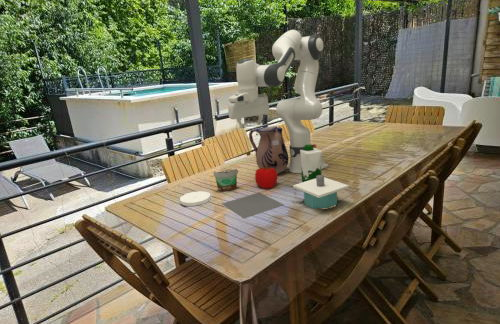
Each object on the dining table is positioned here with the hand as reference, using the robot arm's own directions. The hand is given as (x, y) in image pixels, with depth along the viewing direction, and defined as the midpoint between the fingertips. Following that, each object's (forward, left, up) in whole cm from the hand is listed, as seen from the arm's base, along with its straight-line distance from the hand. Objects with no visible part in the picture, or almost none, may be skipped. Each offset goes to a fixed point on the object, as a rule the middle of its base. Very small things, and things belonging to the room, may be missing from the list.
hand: (250, 126), depth 160 cm
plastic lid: (+29, -6, -32) cm, 44 cm away
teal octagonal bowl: (-11, +34, -31) cm, 47 cm away
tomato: (-6, +1, -31) cm, 32 cm away
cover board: (-11, +34, -24) cm, 43 cm away
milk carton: (-21, +17, -31) cm, 41 cm away
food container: (+11, -8, -31) cm, 34 cm away
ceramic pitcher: (-20, -17, -31) cm, 41 cm away
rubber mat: (+12, +16, -31) cm, 37 cm away
